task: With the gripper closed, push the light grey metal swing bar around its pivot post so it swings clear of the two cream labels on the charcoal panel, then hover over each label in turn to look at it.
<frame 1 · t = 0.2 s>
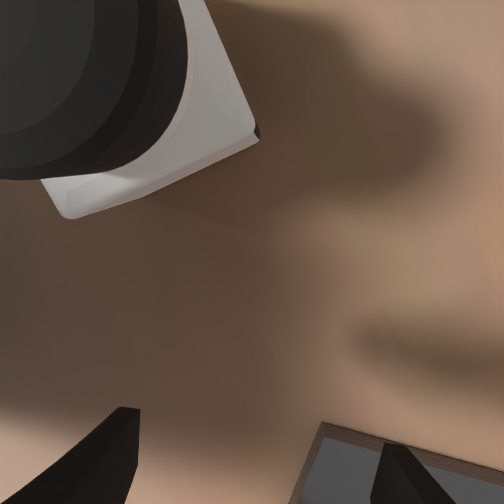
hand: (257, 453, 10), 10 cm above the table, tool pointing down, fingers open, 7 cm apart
medicine bottle: (167, 102, 18), on the table
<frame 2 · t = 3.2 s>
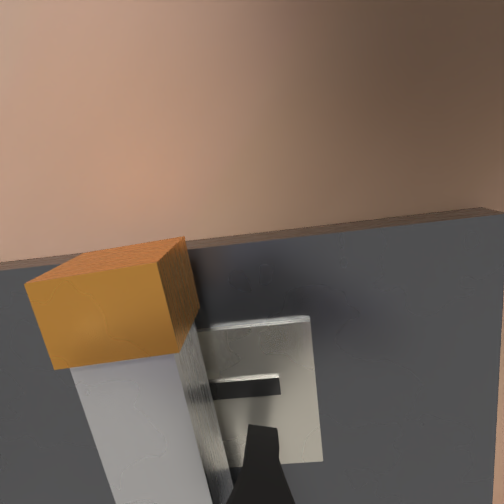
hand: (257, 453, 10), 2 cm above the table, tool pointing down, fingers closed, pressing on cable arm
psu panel: (233, 500, 14), on the table
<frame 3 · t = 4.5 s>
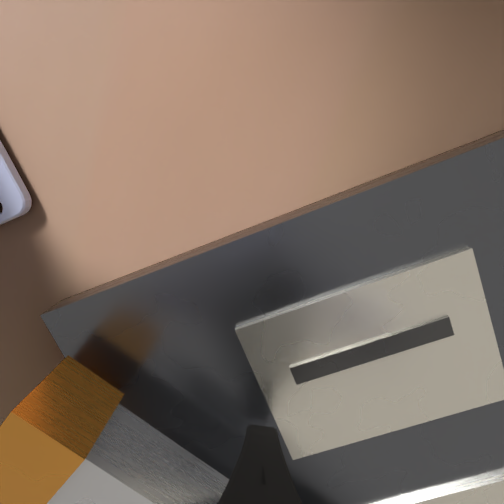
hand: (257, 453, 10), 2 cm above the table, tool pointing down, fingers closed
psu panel: (407, 466, 13), on the table
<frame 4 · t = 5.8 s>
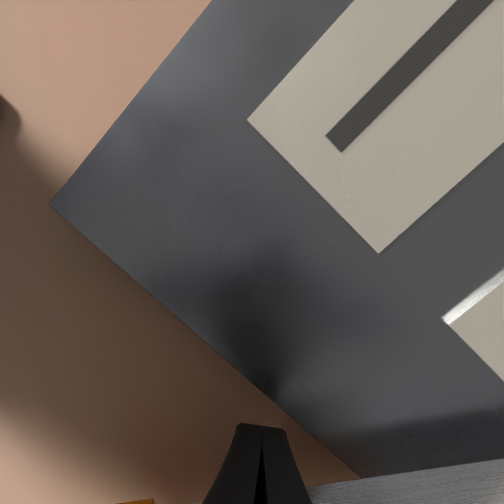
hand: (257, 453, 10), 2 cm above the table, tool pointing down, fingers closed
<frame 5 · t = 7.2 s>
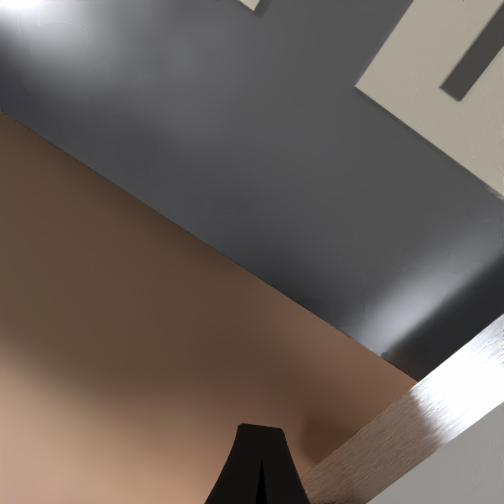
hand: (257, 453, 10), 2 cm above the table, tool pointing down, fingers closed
cable arm: (467, 448, 9), point 3 cm above the table, hinge at 81.5°, touching gripper
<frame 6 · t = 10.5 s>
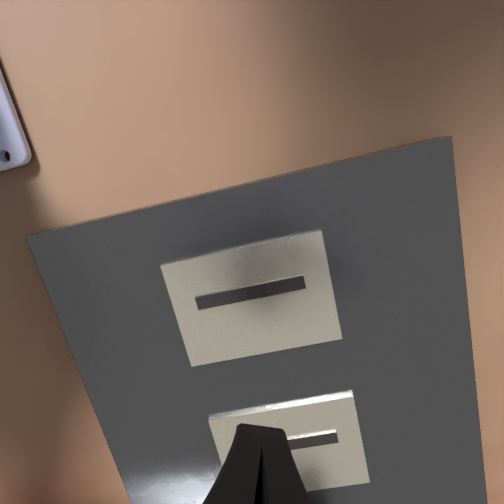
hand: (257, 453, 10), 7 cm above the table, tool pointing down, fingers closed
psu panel: (278, 390, 18), on the table
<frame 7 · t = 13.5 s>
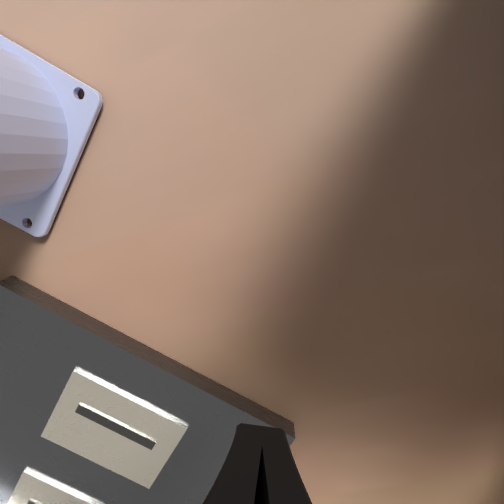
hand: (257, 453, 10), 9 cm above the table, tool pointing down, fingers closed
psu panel: (87, 477, 23), on the table
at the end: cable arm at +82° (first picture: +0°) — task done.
